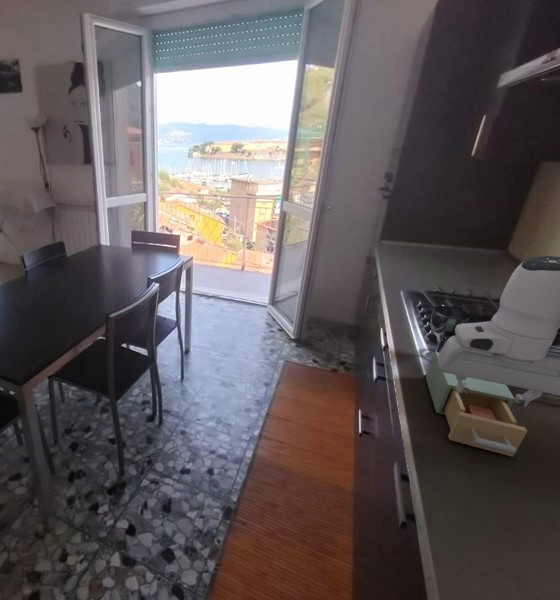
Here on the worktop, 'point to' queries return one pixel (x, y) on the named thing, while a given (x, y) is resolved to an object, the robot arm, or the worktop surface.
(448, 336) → the wine glass
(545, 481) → the worktop surface
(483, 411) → the block
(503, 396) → the cabinet
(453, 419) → the drawer
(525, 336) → the robot arm
